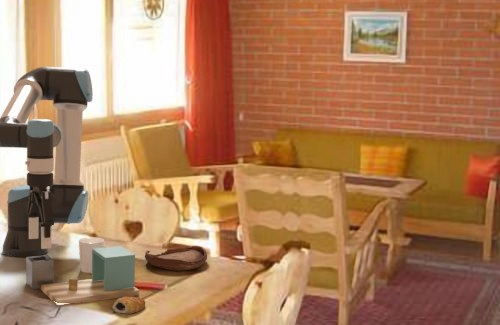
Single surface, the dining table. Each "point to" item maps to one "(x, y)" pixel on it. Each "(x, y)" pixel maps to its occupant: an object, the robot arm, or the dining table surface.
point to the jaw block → (39, 271)
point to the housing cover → (113, 267)
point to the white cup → (88, 252)
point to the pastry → (128, 305)
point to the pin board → (83, 291)
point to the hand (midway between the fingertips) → (39, 243)
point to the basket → (179, 258)
